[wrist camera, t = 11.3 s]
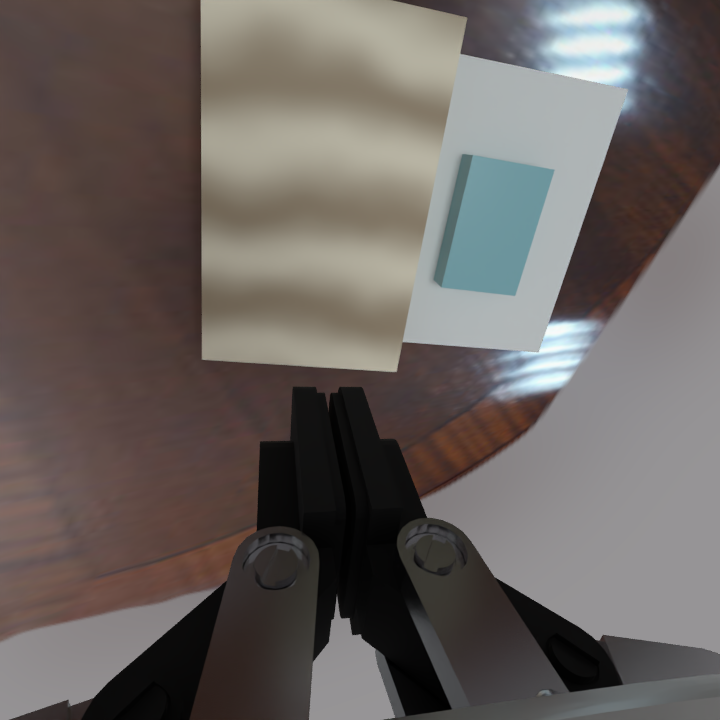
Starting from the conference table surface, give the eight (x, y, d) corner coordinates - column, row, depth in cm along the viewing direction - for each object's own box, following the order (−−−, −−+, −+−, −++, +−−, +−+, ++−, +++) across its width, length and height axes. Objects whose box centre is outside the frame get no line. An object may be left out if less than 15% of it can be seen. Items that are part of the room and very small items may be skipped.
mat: (448, 52, 29) (450, 52, 29) (624, 89, 31) (628, 89, 31) (393, 339, 37) (394, 341, 37) (536, 350, 40) (538, 352, 39)
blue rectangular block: (554, 169, 31) (540, 168, 32) (473, 154, 30) (462, 153, 31) (515, 295, 34) (504, 288, 36) (441, 287, 33) (433, 279, 35)
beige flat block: (212, -19, 26) (200, -44, 22) (444, 32, 28) (467, 17, 25) (210, 337, 35) (201, 359, 31) (385, 349, 38) (396, 372, 34)
